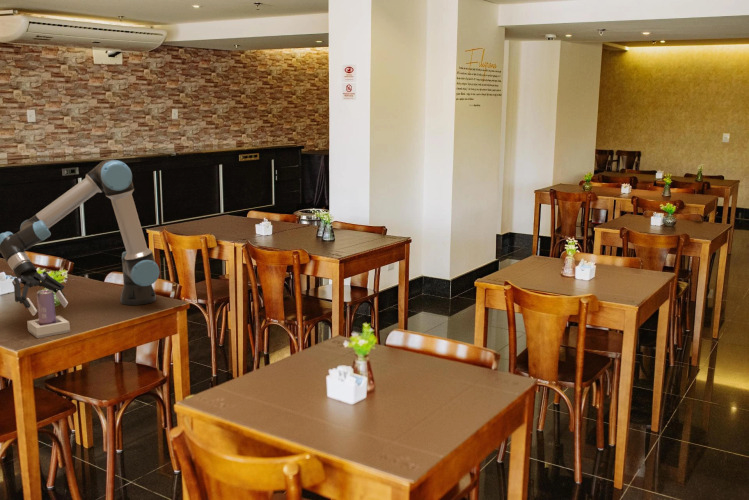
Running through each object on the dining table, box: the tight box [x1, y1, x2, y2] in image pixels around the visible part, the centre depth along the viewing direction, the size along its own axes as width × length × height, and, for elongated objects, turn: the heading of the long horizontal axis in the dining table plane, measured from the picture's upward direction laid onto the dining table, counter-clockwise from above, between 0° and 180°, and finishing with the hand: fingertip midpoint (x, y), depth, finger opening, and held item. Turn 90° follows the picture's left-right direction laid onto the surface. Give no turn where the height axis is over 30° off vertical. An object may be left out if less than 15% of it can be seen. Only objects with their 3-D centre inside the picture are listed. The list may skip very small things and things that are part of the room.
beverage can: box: [36, 289, 57, 326], centre depth 282 cm, size 6×6×15 cm
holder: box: [26, 315, 71, 339], centre depth 283 cm, size 12×12×4 cm
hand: (51, 309), depth 281 cm, fingers open, 13 cm apart
